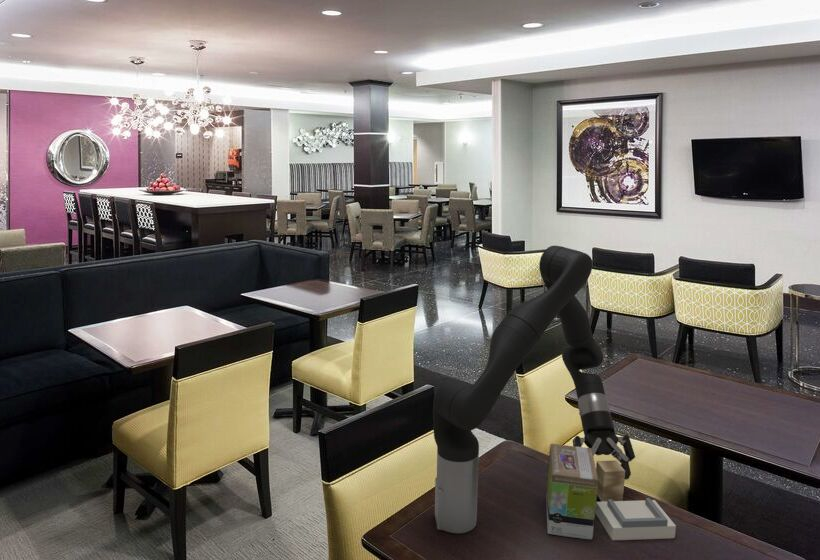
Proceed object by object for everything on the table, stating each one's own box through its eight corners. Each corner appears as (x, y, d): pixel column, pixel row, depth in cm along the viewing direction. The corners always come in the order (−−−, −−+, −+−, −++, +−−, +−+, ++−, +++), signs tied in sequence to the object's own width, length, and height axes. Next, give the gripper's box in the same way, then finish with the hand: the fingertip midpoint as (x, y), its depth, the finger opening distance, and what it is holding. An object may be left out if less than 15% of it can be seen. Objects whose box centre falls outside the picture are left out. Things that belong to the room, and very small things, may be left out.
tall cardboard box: (601, 506, 142) (604, 471, 140) (594, 495, 147) (596, 461, 145) (622, 506, 142) (625, 471, 140) (613, 494, 147) (616, 460, 145)
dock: (612, 540, 129) (613, 521, 129) (595, 513, 139) (596, 495, 138) (674, 538, 130) (676, 519, 129) (653, 511, 140) (655, 494, 139)
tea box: (594, 541, 129) (599, 479, 126) (546, 535, 131) (550, 474, 128) (588, 502, 144) (592, 446, 141) (545, 497, 146) (548, 441, 143)
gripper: (572, 409, 149) (585, 475, 140) (627, 408, 150) (644, 474, 141) (564, 420, 155) (576, 484, 146) (617, 419, 156) (632, 482, 147)
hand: (609, 479), depth 143 cm, fingers open, 8 cm apart
